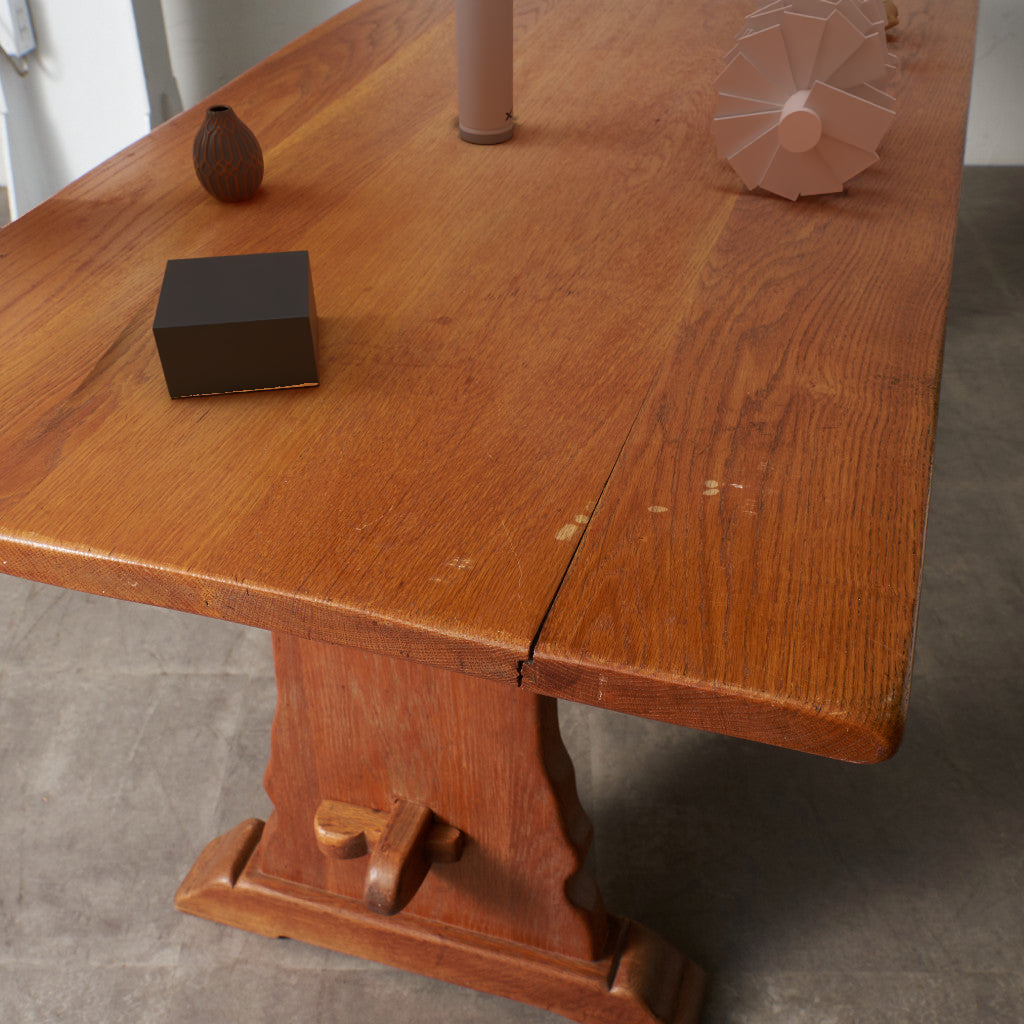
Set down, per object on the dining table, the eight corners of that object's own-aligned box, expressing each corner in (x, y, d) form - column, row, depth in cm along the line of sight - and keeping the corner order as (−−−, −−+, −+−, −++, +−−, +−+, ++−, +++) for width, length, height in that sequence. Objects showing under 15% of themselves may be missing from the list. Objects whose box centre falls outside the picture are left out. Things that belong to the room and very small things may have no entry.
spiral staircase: (735, 241, 105) (757, 145, 123) (913, 187, 97) (909, 93, 114) (675, 72, 96) (708, -5, 113) (867, -4, 87) (870, -75, 105)
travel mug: (524, 139, 117) (526, -55, 104) (472, 148, 115) (467, -50, 102) (501, 122, 121) (500, -66, 108) (451, 131, 119) (443, -61, 106)
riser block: (170, 399, 75) (151, 328, 71) (183, 326, 83) (167, 259, 80) (319, 386, 76) (309, 315, 73) (317, 316, 85) (308, 249, 81)
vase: (269, 205, 102) (255, 117, 97) (199, 210, 101) (181, 122, 96) (268, 179, 108) (254, 94, 102) (201, 184, 106) (184, 99, 101)
